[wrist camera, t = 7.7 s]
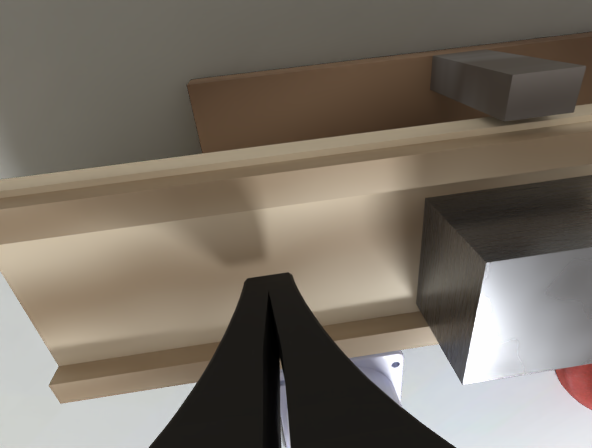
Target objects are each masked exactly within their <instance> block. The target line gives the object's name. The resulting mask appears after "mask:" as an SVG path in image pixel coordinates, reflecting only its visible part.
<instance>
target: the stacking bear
mask: <svg viewBox="0 0 592 448" xmlns="http://www.w3.org/2000/svg"><path fill="white" fill-rule="evenodd" d="M556 373H557V376H558V379H559V381H560V382H561V384H562V386H563V387H564V388H565V389H566V390H567V391H568V393H569V394H570V395H571V396H572V397H573V398H575V399H576V400H577V401H578V402H579V403H581V404H582V405H584V406H585V407H587V408H589V409H591V410H592V364H587V365H580V366H574V367H568V368H562V369H556Z"/></svg>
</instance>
